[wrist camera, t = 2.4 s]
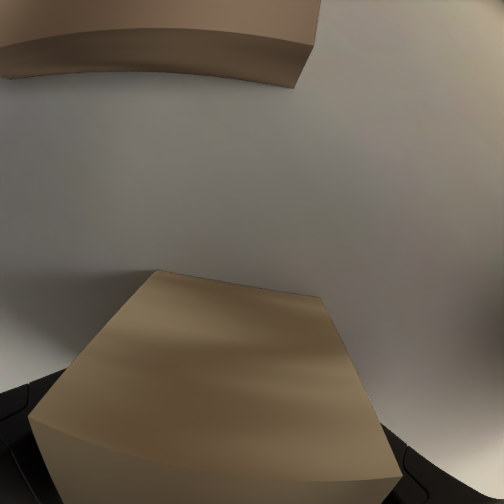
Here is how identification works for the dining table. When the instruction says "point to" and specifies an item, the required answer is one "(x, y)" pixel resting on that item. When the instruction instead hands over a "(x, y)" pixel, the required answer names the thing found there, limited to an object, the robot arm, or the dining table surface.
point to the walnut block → (159, 37)
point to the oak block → (214, 405)
